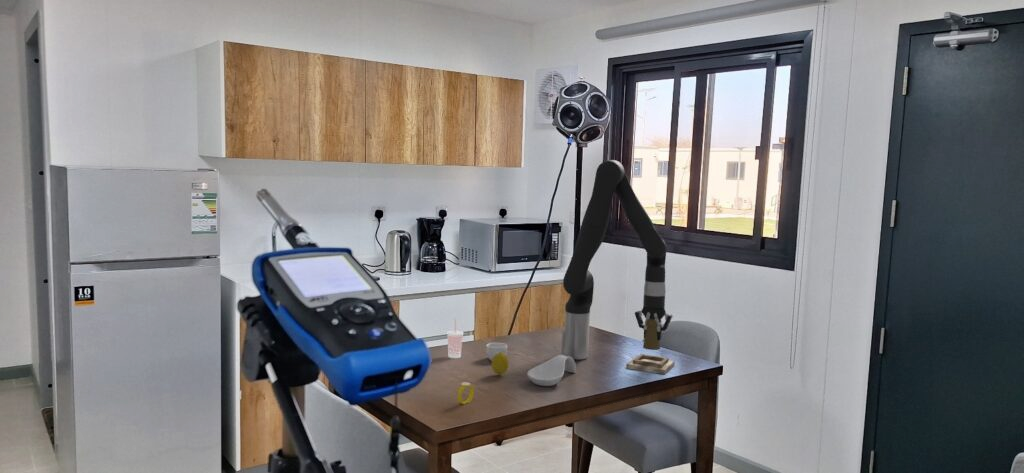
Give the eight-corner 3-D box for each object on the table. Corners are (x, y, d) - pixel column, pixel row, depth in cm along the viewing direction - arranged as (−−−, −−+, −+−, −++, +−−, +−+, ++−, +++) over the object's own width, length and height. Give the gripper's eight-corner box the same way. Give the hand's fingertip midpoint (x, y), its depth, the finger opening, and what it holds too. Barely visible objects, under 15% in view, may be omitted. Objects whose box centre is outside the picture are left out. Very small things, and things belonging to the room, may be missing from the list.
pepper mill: (660, 350, 249) (661, 320, 248) (642, 349, 250) (644, 318, 249) (660, 346, 255) (661, 316, 254) (643, 345, 256) (644, 315, 255)
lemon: (496, 378, 232) (496, 355, 231) (488, 374, 237) (489, 350, 236) (510, 376, 235) (511, 353, 234) (503, 372, 240) (504, 349, 239)
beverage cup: (464, 358, 256) (466, 320, 255) (448, 359, 254) (449, 321, 252) (459, 353, 262) (461, 317, 260) (444, 354, 259) (445, 317, 258)
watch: (462, 407, 204) (462, 387, 203) (455, 405, 206) (455, 385, 205) (475, 400, 209) (475, 381, 208) (468, 398, 211) (468, 379, 210)
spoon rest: (551, 392, 221) (552, 370, 220) (520, 385, 227) (520, 363, 226) (585, 375, 241) (586, 354, 240) (555, 368, 247) (556, 349, 246)
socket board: (626, 367, 250) (626, 360, 250) (637, 359, 263) (637, 352, 263) (664, 374, 244) (665, 366, 244) (674, 364, 257) (674, 357, 257)
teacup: (498, 363, 250) (498, 349, 250) (481, 359, 255) (481, 345, 254) (514, 358, 258) (515, 343, 258) (497, 354, 263) (498, 340, 262)
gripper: (632, 293, 251) (630, 340, 252) (671, 297, 244) (669, 345, 246) (638, 290, 257) (636, 336, 259) (676, 294, 251) (674, 341, 253)
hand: (652, 340), depth 252 cm, fingers closed on pepper mill, 3 cm apart
